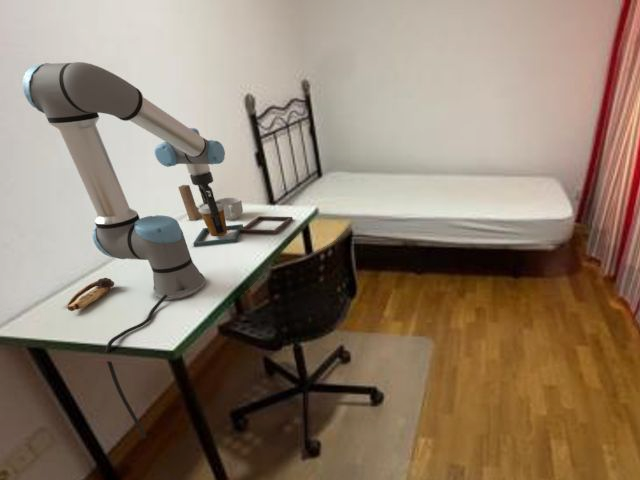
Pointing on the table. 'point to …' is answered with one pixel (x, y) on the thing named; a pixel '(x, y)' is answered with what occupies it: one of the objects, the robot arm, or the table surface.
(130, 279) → the table surface
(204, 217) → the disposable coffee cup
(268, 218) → the right stand
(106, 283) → the bone fish hook
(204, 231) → the left stand
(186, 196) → the wooden block
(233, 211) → the teacup
